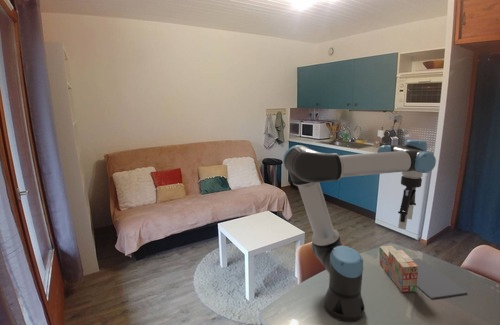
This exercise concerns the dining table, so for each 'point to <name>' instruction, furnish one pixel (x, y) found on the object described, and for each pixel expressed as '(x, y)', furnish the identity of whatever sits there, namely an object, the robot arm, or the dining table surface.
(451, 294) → the mat
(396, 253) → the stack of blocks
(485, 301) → the dining table surface
